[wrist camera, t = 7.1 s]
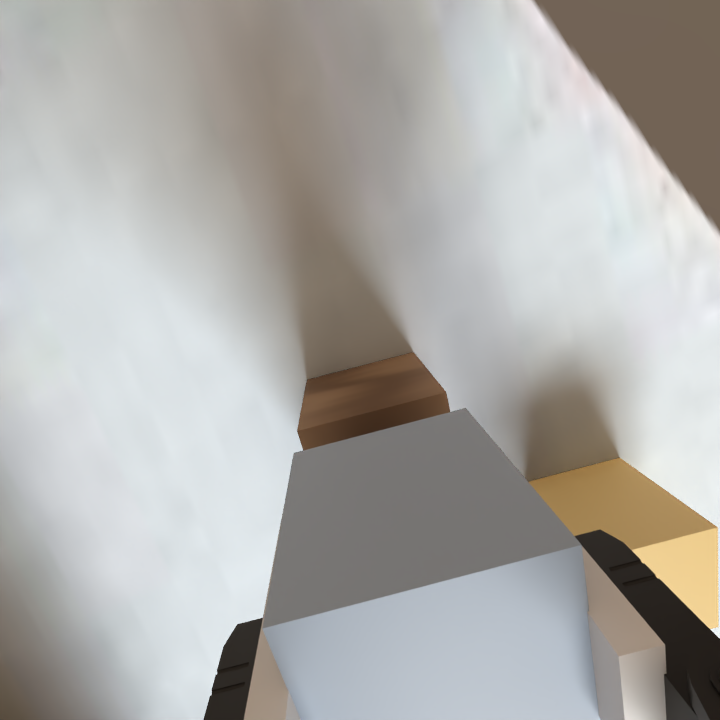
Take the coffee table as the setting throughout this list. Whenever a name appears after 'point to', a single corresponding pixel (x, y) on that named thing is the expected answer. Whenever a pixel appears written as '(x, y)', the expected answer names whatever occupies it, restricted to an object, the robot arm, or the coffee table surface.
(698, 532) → the yellow cube
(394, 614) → the gray brick
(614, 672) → the robot arm
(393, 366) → the walnut brick
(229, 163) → the coffee table surface
